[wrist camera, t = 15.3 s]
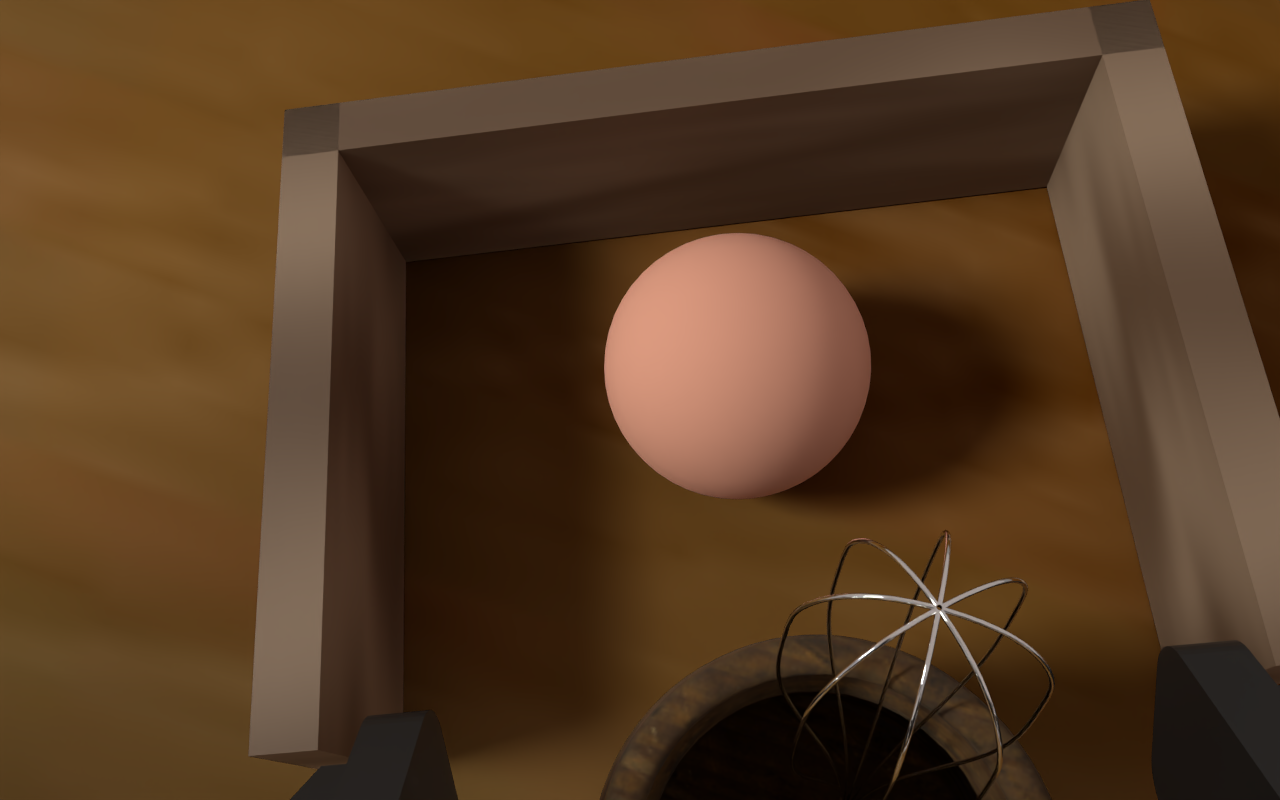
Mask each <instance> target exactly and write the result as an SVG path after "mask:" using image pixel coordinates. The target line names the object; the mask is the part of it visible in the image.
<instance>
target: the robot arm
mask: <svg viewBox="0 0 1280 800" xmlns="http://www.w3.org/2000/svg"><path fill="white" fill-rule="evenodd" d="M1152 773H1153V780H1154V785H1155V789H1156V794H1157V797H1158V800H1280V685H1277V684H1276V683H1275V681H1274V680H1273V679H1272V678H1271V676H1270V675H1269V674H1268V673H1267V671H1266V670H1265V669H1264V668H1263V666H1262V665H1261V664H1260V663H1259V661H1258V660H1257V659H1256V658H1255V657H1254V655H1253V654H1252V653H1251V652H1250V650H1249V649H1248V648H1247V647H1246V646H1245V645H1244V644H1243V643H1241V642H1240V641H1237V640H1229V641H1218V642H1207V643H1196V644H1185V645H1173V646H1165V647H1163V649H1162V650H1161V652H1160V654H1159V658H1158V664H1157V678H1156V694H1155V710H1154V726H1153V742H1152ZM290 800H458V797H457V793H456V789H455V785H454V781H453V777H452V772H451V768H450V764H449V760H448V756H447V752H446V747H445V743H444V739H443V735H442V731H441V727H440V723H439V720H438V718H437V716H436V714H435V712H434V711H432V710H425V711H414V712H403V713H392V714H381V715H370V716H367V717H366V718H365V719H364V720H363V722H362V724H361V727H360V729H359V732H358V735H357V737H356V740H355V742H354V745H353V748H352V750H351V753H350V756H349V758H348V761H347V763H346V764H339V765H327V766H321V767H320V768H319V769H318V770H317V771H316V772H315V773H314V774H313V776H312V777H311V778H310V779H309V780H308V781H307V782H306V783H305V784H304V785H303V786H302V787H301V788H300V790H299V791H298V792H297V793H296V794H295V795H294V796H293V797H292V798H291V799H290Z"/></svg>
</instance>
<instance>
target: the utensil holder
mask: <svg viewBox="0 0 1280 800" xmlns="http://www.w3.org/2000/svg"><path fill="white" fill-rule="evenodd" d="M944 537H945V538H946V545H945V556H944V564H943V571H942V577H941V583H940V589H939V595H938V600H937V601H936V599H935V598H934V597H933V595H932V594H931V593H930V591H929V590H928V588H927V587H926V586H925V585H924V581H925V579H926V577H927V574H928V572H929V570H930V567H931V565H932V563H933V561H934V558H935V556H936V554H937V551H938V549H939V547H940V545H941V543H942V541H943V539H944ZM859 543H862V544H868V545H872V546H874V547H876V548H878V549H880V550H881V551H883V552H884V553H886V554H887V555H888V556H890V557H891V558H892V559H893V560H894V561H895V562H896V563H898V564H899V565H900V566H901V567H902V568H903V569H904V570H905V571H906V573H907V574H908V575H909V576H910V577H911V578H912V579H913V580H914V582H915V583H916V584H917V585H918V586H917V589H916V591H915V594H914V596H913V599H908V598H902V597H897V596H889V595H881V594H869V593H846V594H835V595H834V592H835V588H836V585H837V581H838V578H839V575H840V572H841V569H842V566H843V563H844V560H845V557H846V555H847V553H848V551H849V549H850V548H851V547H852V546H853V545H855V544H859ZM950 553H951V535H950V532H949V531H948V530H944V531H942V533H941V534H940V536H939V537H938V539H937V542H936V544H935V546H934V548H933V550H932V553H931V555H930V557H929V560H928V562H927V564H926V567H925V569H924V571H923V574H922V576H921V579H919V578H918V576H917V575H916V574H915V573H914V572H913V571H912V570H911V569H910V568H909V567H908V566H907V564H906V563H905V562H903V561H902V560H901V559H900V558H899V557H898V556H897V555H896V554H895V553H893V552H892V551H891V550H889V549H888V548H887V547H885V546H883V545H882V544H880V543H878V542H876V541H873V540H870V539H865V538H858V539H853V540H852V541H850V542H849V543H848V544H847V545H846V546H845V548H844V550H843V552H842V554H841V557H840V560H839V563H838V566H837V569H836V572H835V575H834V578H833V582H832V585H831V589H830V594H829V596H824V597H820V598H816V599H814V600H811V601H808V602H806V603H804V604H802V605H800V606H799V607H797V608H796V609H795V610H794V611H793V612H792V613H791V614H790V616H789V618H788V620H787V622H786V624H785V626H784V630H783V633H782V637H781V638H776V639H770V640H766V641H762V642H758V643H754V644H751V645H748V646H746V647H743V648H740V649H737V650H735V651H732V652H730V653H728V654H725V655H723V656H721V657H719V658H717V659H715V660H713V661H712V662H710V663H708V664H706V665H704V666H702V667H700V668H699V669H697V670H696V671H694V672H693V673H691V674H690V675H688V676H686V677H685V678H684V679H683V680H681V681H680V682H679V683H677V684H676V685H675V686H673V687H672V688H671V689H670V690H669V691H668V692H667V693H666V694H664V695H663V696H662V697H661V698H660V699H659V700H658V701H657V702H656V703H655V704H654V705H653V706H652V707H651V708H650V710H649V711H648V712H647V713H646V714H645V715H644V717H643V718H642V719H641V720H640V722H639V723H638V724H637V725H636V727H635V728H634V730H633V731H632V733H631V734H630V736H629V737H628V738H627V740H626V741H625V743H624V745H623V747H622V748H621V750H620V752H619V754H618V755H617V757H616V759H615V762H614V764H613V766H612V768H611V770H610V772H609V774H608V777H607V780H606V782H605V785H604V788H603V790H602V793H601V797H600V800H1051V797H1050V795H1049V793H1048V791H1047V789H1046V787H1045V785H1044V783H1043V781H1042V778H1041V776H1040V775H1039V773H1038V771H1037V770H1036V768H1035V766H1034V764H1033V763H1032V761H1031V759H1030V758H1029V756H1028V755H1027V753H1026V752H1025V750H1024V749H1023V747H1022V746H1021V744H1020V743H1019V742H1018V739H1019V738H1020V737H1022V736H1023V734H1024V733H1025V732H1026V731H1027V730H1028V729H1029V728H1030V727H1031V725H1032V724H1033V723H1034V721H1035V720H1036V719H1037V717H1038V716H1039V714H1040V713H1041V712H1042V710H1043V709H1044V707H1045V706H1046V704H1047V703H1048V701H1049V700H1050V697H1051V695H1052V693H1053V691H1054V687H1055V680H1054V675H1053V673H1052V671H1051V668H1050V667H1049V665H1048V664H1047V662H1046V661H1045V660H1044V659H1043V657H1042V656H1041V655H1040V654H1039V653H1038V652H1037V651H1036V650H1035V649H1034V648H1032V647H1031V646H1030V645H1028V644H1027V643H1026V642H1024V641H1023V640H1022V639H1020V638H1018V637H1017V636H1015V635H1013V634H1012V633H1010V632H1008V631H1007V630H1008V629H1009V627H1010V625H1011V624H1012V622H1013V620H1014V618H1015V617H1016V615H1017V613H1018V611H1019V610H1020V608H1021V606H1022V604H1023V602H1024V600H1025V598H1026V596H1027V592H1028V585H1027V584H1026V582H1025V581H1024V580H1022V579H1020V578H1012V577H1010V578H1003V579H999V580H995V581H992V582H989V583H986V584H983V585H981V586H978V587H976V588H973V589H971V590H969V591H967V592H964V593H962V594H960V595H958V596H956V597H954V598H952V599H950V600H948V601H946V602H944V603H943V600H944V594H945V589H946V583H947V577H948V570H949V563H950ZM1007 583H1018V584H1020V585H1021V586H1022V589H1023V590H1022V594H1021V596H1020V598H1019V600H1018V602H1017V604H1016V606H1015V608H1014V610H1013V611H1012V613H1011V615H1010V617H1009V618H1008V620H1007V622H1006V624H1005V625H1004V627H1003V629H1002V628H1000V627H998V626H996V625H994V624H991V623H989V622H987V621H984V620H982V619H979V618H976V617H974V616H971V615H968V614H965V613H962V612H959V611H955V610H952V609H949V608H947V607H949V606H951V605H953V604H955V603H957V602H959V601H961V600H963V599H965V598H968V597H970V596H972V595H974V594H976V593H979V592H981V591H984V590H986V589H989V588H992V587H995V586H998V585H1002V584H1007ZM921 590H922V591H923V593H924V594H925V595H926V597H927V598H928V599H929V601H930V602H931V603H932V604H930V603H926V602H922V601H918V600H917V599H918V596H919V594H920V591H921ZM840 599H874V600H884V601H892V602H898V603H903V604H909V605H910V607H909V610H908V613H907V616H906V619H905V622H904V625H903V626H902V627H900V628H899V629H897V630H896V631H894V632H893V633H891V634H890V635H888V636H887V637H885V638H884V639H882V640H881V641H879V642H878V643H875V642H871V641H867V640H863V639H857V638H851V637H845V636H834V635H832V634H831V610H832V603H833V600H840ZM827 601H828V606H827V635H799V636H788V637H787V634H788V631H789V627H790V625H791V623H792V621H793V619H794V617H795V616H796V615H797V614H798V613H799V612H801V611H802V610H804V609H806V608H808V607H810V606H813V605H816V604H819V603H822V602H827ZM915 606H918V607H922V608H927V609H931V610H929V611H928V612H926V613H924V614H922V615H921V616H919V617H917V618H915V619H914V620H912V621H910V618H911V615H912V612H913V609H914V607H915ZM936 607H940V608H941V610H937V608H936ZM934 614H935V616H934V621H933V626H932V631H931V636H930V640H929V645H928V650H927V654H926V658H925V661H923V660H921V659H919V658H917V657H915V656H913V655H910V654H908V653H905V652H903V651H900V648H901V645H902V641H903V638H904V635H905V632H906V631H907V630H909V629H910V628H912V627H914V626H915V625H917V624H919V623H920V622H922V621H924V620H926V619H927V618H929V617H931V616H933V615H934ZM946 614H949V615H952V616H956V617H959V618H962V619H965V620H968V621H971V622H973V623H976V624H979V625H982V626H984V627H986V628H988V629H991V630H993V631H995V632H997V633H999V635H998V637H997V638H996V640H995V642H994V643H993V644H992V646H991V647H990V649H989V650H988V651H987V653H986V654H985V655H984V656H983V658H982V659H981V660H980V661H979V663H978V664H977V665H976V662H975V661H974V659H973V657H972V655H971V653H970V651H969V650H968V648H967V646H966V644H965V643H964V641H963V639H962V638H961V636H960V634H959V633H958V631H957V630H956V628H955V626H954V625H953V623H952V622H951V621H950V619H949V618H948V616H947V615H946ZM940 616H941V617H942V619H943V620H944V622H945V623H946V625H947V626H948V628H949V629H950V631H951V632H952V634H953V636H954V637H955V639H956V641H957V642H958V644H959V646H960V647H961V649H962V651H963V653H964V654H965V656H966V658H967V660H968V662H969V664H970V666H971V668H972V670H971V672H970V673H969V674H968V675H967V676H966V677H965V678H964V679H963V680H962V681H961V682H960V683H959V682H958V681H956V680H955V679H953V678H952V677H951V676H949V675H948V674H946V673H944V672H943V671H941V670H939V669H938V668H936V667H934V666H933V665H931V659H932V655H933V650H934V646H935V641H936V636H937V631H938V626H939V621H940ZM909 621H910V622H909ZM899 635H900V637H899V640H898V643H897V646H896V649H895V648H892V647H889V646H886V645H885V644H887V643H888V642H890V641H891V640H893V639H894V638H896V637H897V636H899ZM1004 636H1005V637H1007V638H1009V639H1011V640H1012V641H1014V642H1016V643H1017V644H1019V645H1020V646H1022V647H1023V648H1024V649H1026V650H1027V651H1028V652H1030V653H1031V654H1032V655H1033V656H1034V657H1035V658H1036V659H1037V660H1038V661H1039V662H1040V664H1041V665H1042V667H1043V668H1044V670H1045V671H1046V673H1047V676H1048V679H1049V688H1048V690H1047V692H1046V695H1045V697H1044V698H1043V700H1042V701H1041V703H1040V704H1039V706H1038V707H1037V709H1036V710H1035V712H1034V713H1033V715H1032V716H1031V718H1030V719H1029V720H1028V722H1027V723H1026V724H1025V726H1024V727H1023V728H1022V729H1021V730H1020V731H1019V732H1018V733H1017V734H1016V735H1015V736H1014V735H1013V734H1012V733H1011V731H1010V730H1009V729H1008V728H1007V726H1006V725H1005V724H1004V723H1003V722H1002V721H1001V720H1000V719H999V718H998V716H997V714H996V711H995V708H994V705H993V702H992V699H991V696H990V694H989V691H988V689H987V686H986V684H985V682H984V679H983V677H982V675H981V673H980V671H979V669H980V667H981V666H982V665H983V664H984V663H985V661H986V660H987V659H988V658H989V657H990V655H991V654H992V653H993V651H994V650H995V649H996V647H997V646H998V644H999V643H1000V641H1001V640H1002V638H1003V637H1004ZM974 674H975V676H976V678H977V680H978V682H979V685H980V687H981V690H982V692H983V694H984V697H985V700H986V703H987V705H988V706H987V705H986V704H985V703H983V702H982V701H981V700H980V699H979V698H978V697H977V696H976V695H974V694H973V693H972V692H971V691H970V690H968V689H967V688H966V687H965V686H964V685H965V684H966V683H967V682H968V680H969V679H970V678H971V677H972V676H973V675H974Z"/></svg>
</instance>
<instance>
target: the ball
mask: <svg viewBox="0 0 1280 800" xmlns="http://www.w3.org/2000/svg"><path fill="white" fill-rule="evenodd" d="M604 373H605V386H606V391H607V395H608V400H609V404H610V407H611V410H612V412H613V415H614V418H615V420H616V422H617V424H618V426H619V428H620V430H621V432H622V434H623V435H624V437H625V438H626V440H627V441H628V443H629V444H630V445H631V447H632V448H633V449H634V450H635V452H636V453H637V454H638V455H639V456H640V457H641V458H642V459H643V460H644V461H645V462H646V463H647V464H648V465H649V466H650V467H651V468H653V469H654V470H655V471H656V472H657V473H659V474H660V475H662V476H663V477H665V478H666V479H668V480H669V481H671V482H673V483H675V484H677V485H679V486H681V487H683V488H685V489H687V490H690V491H693V492H696V493H699V494H702V495H706V496H711V497H716V498H725V499H750V498H758V497H763V496H769V495H772V494H775V493H779V492H782V491H785V490H787V489H790V488H792V487H794V486H796V485H798V484H800V483H802V482H804V481H805V480H807V479H809V478H810V477H812V476H813V475H815V474H816V473H818V472H819V471H820V470H821V469H822V468H824V467H825V466H826V465H827V464H828V463H830V461H831V460H832V459H833V458H834V457H835V456H836V455H837V454H838V453H839V452H840V451H841V449H842V448H843V447H844V445H845V444H846V443H847V441H848V440H849V438H850V437H851V435H852V433H853V431H854V430H855V428H856V426H857V424H858V422H859V420H860V417H861V414H862V412H863V409H864V407H865V404H866V399H867V395H868V391H869V387H870V377H871V352H870V346H869V340H868V335H867V331H866V328H865V325H864V322H863V319H862V316H861V314H860V312H859V310H858V308H857V306H856V304H855V302H854V300H853V299H852V297H851V295H850V294H849V292H848V291H847V289H846V288H845V286H844V285H843V284H842V283H841V281H840V280H839V279H838V278H837V277H836V276H835V274H834V273H833V272H832V271H831V270H830V269H828V268H827V267H826V266H825V265H824V264H823V263H822V262H821V261H819V260H818V259H816V258H815V257H813V256H812V255H810V254H809V253H807V252H806V251H804V250H802V249H800V248H798V247H796V246H794V245H792V244H790V243H787V242H785V241H782V240H779V239H776V238H773V237H768V236H763V235H758V234H746V233H730V234H718V235H714V236H709V237H704V238H700V239H697V240H695V241H692V242H689V243H686V244H684V245H682V246H680V247H678V248H676V249H674V250H672V251H670V252H668V253H667V254H666V255H664V256H663V257H661V258H660V259H658V260H657V261H655V262H654V263H653V264H652V265H651V266H650V267H648V268H647V269H646V270H645V271H644V272H643V273H642V274H641V275H640V276H639V277H638V279H637V280H636V281H635V282H634V283H633V284H632V285H631V287H630V288H629V290H628V291H627V293H626V294H625V296H624V297H623V299H622V301H621V303H620V305H619V307H618V309H617V311H616V313H615V315H614V317H613V321H612V324H611V327H610V330H609V333H608V338H607V343H606V349H605V363H604Z"/></svg>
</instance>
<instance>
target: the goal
mask: <svg viewBox="0 0 1280 800" xmlns="http://www.w3.org/2000/svg"><path fill="white" fill-rule="evenodd" d="M1040 187H1047V190H1048V194H1049V198H1050V202H1051V206H1052V210H1053V214H1054V218H1055V222H1056V226H1057V230H1058V234H1059V238H1060V242H1061V246H1062V250H1063V254H1064V258H1065V262H1066V266H1067V271H1068V275H1069V279H1070V283H1071V287H1072V291H1073V295H1074V299H1075V303H1076V307H1077V311H1078V315H1079V319H1080V323H1081V327H1082V331H1083V335H1084V339H1085V343H1086V347H1087V351H1088V355H1089V360H1090V364H1091V368H1092V372H1093V376H1094V380H1095V384H1096V388H1097V392H1098V396H1099V400H1100V404H1101V408H1102V412H1103V416H1104V420H1105V424H1106V428H1107V432H1108V436H1109V440H1110V444H1111V449H1112V453H1113V457H1114V461H1115V465H1116V469H1117V473H1118V477H1119V481H1120V485H1121V489H1122V493H1123V497H1124V501H1125V505H1126V509H1127V513H1128V517H1129V521H1130V525H1131V529H1132V533H1133V538H1134V542H1135V546H1136V550H1137V554H1138V558H1139V562H1140V566H1141V570H1142V574H1143V578H1144V582H1145V586H1146V590H1147V594H1148V598H1149V602H1150V606H1151V610H1152V614H1153V618H1154V622H1155V627H1156V631H1157V635H1158V639H1159V643H1160V647H1161V650H1162V649H1163V647H1165V646H1173V645H1185V644H1196V643H1207V642H1218V641H1229V640H1237V641H1240V642H1241V643H1243V644H1244V645H1245V646H1246V647H1247V648H1248V649H1249V650H1250V652H1251V653H1252V654H1253V655H1254V657H1255V658H1256V659H1257V660H1258V661H1259V663H1260V664H1261V665H1262V666H1263V668H1264V669H1265V670H1266V671H1267V673H1268V674H1269V675H1270V676H1271V678H1272V679H1273V680H1274V681H1275V683H1276V684H1280V418H1279V415H1278V412H1277V408H1276V405H1275V402H1274V399H1273V395H1272V392H1271V389H1270V386H1269V383H1268V379H1267V376H1266V373H1265V370H1264V366H1263V363H1262V360H1261V357H1260V354H1259V350H1258V347H1257V344H1256V341H1255V338H1254V334H1253V331H1252V328H1251V325H1250V321H1249V318H1248V315H1247V312H1246V309H1245V305H1244V302H1243V299H1242V296H1241V293H1240V289H1239V286H1238V283H1237V280H1236V276H1235V273H1234V270H1233V267H1232V264H1231V260H1230V257H1229V254H1228V251H1227V247H1226V244H1225V241H1224V238H1223V235H1222V231H1221V228H1220V225H1219V222H1218V219H1217V215H1216V212H1215V209H1214V206H1213V202H1212V199H1211V196H1210V193H1209V190H1208V186H1207V183H1206V180H1205V177H1204V173H1203V170H1202V167H1201V164H1200V161H1199V157H1198V154H1197V151H1196V148H1195V145H1194V141H1193V138H1192V135H1191V132H1190V128H1189V125H1188V122H1187V119H1186V116H1185V112H1184V109H1183V106H1182V103H1181V100H1180V96H1179V93H1178V90H1177V87H1176V83H1175V80H1174V77H1173V74H1172V71H1171V67H1170V64H1169V61H1168V58H1167V54H1166V51H1165V48H1164V45H1163V42H1162V38H1161V35H1160V32H1159V29H1158V26H1157V22H1156V19H1155V16H1154V13H1153V9H1152V6H1151V3H1150V0H1141V1H1133V2H1125V3H1118V4H1110V5H1102V6H1094V7H1086V8H1078V9H1071V10H1063V11H1055V12H1047V13H1039V14H1032V15H1024V16H1016V17H1008V18H1000V19H992V20H985V21H977V22H969V23H961V24H953V25H946V26H938V27H930V28H922V29H914V30H906V31H899V32H891V33H883V34H875V35H867V36H860V37H852V38H844V39H836V40H828V41H820V42H813V43H805V44H797V45H789V46H781V47H774V48H766V49H758V50H750V51H742V52H734V53H727V54H719V55H711V56H703V57H695V58H688V59H680V60H672V61H664V62H656V63H648V64H641V65H633V66H625V67H617V68H609V69H602V70H594V71H586V72H578V73H570V74H562V75H555V76H547V77H539V78H531V79H523V80H516V81H508V82H500V83H492V84H484V85H476V86H469V87H461V88H453V89H445V90H437V91H430V92H422V93H414V94H406V95H398V96H390V97H383V98H375V99H367V100H359V101H351V102H344V103H336V104H328V105H320V106H312V107H304V108H297V109H289V110H285V117H284V135H283V153H282V170H281V188H280V206H279V224H278V241H277V259H276V277H275V295H274V312H273V330H272V348H271V366H270V383H269V401H268V419H267V436H266V454H265V472H264V490H263V507H262V525H261V543H260V561H259V578H258V596H257V614H256V632H255V649H254V667H253V685H252V703H251V720H250V738H249V756H250V757H256V758H261V759H266V760H272V761H277V762H282V763H288V764H293V765H299V766H304V767H309V768H315V769H319V768H320V767H321V766H327V765H339V764H346V763H347V761H348V758H349V756H350V753H351V750H352V748H353V745H354V742H355V740H356V737H357V735H358V732H359V729H360V727H361V724H362V722H363V720H364V719H365V718H366V717H367V716H370V715H381V714H392V713H403V674H404V518H405V362H406V262H411V261H419V260H428V259H436V258H445V257H453V256H462V255H470V254H479V253H487V252H496V251H504V250H513V249H521V248H530V247H538V246H547V245H556V244H564V243H573V242H581V241H590V240H598V239H607V238H615V237H624V236H632V235H641V234H649V233H658V232H666V231H675V230H683V229H692V228H700V227H709V226H717V225H726V224H734V223H743V222H751V221H760V220H768V219H777V218H785V217H794V216H802V215H811V214H819V213H828V212H836V211H845V210H853V209H862V208H870V207H879V206H887V205H896V204H904V203H913V202H921V201H930V200H938V199H947V198H955V197H964V196H972V195H981V194H989V193H998V192H1006V191H1015V190H1023V189H1032V188H1040Z"/></svg>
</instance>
